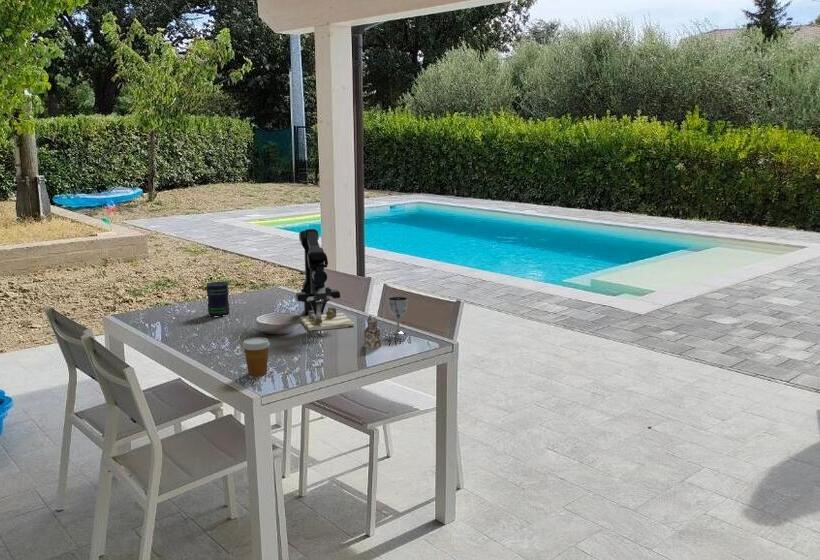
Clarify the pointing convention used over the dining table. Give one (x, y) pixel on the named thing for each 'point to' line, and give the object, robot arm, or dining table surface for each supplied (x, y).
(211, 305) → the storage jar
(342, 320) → the nutcracker base
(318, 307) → the lever
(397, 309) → the wine glass
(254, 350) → the disposable coffee cup
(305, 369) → the dining table surface
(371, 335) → the figurine
